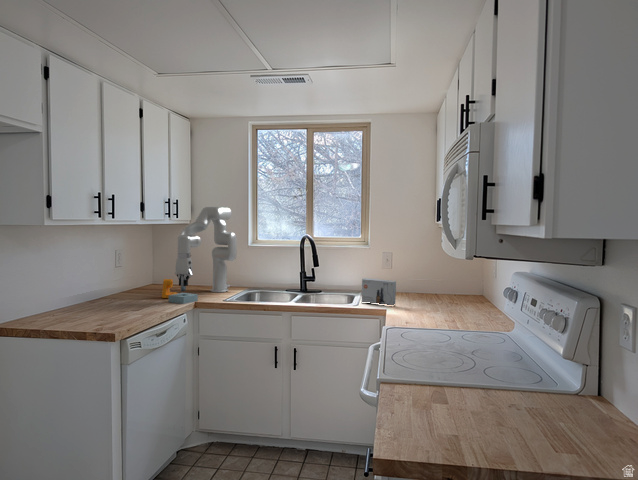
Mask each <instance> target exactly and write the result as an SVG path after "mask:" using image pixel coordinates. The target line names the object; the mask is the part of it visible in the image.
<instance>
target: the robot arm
mask: <svg viewBox="0 0 638 480" xmlns="http://www.w3.org/2000/svg"><path fill="white" fill-rule="evenodd" d="M231 217H232V209H231V208H229V207H227V206H226V207H219V206H205V207H203V208H202V210H200V213H199V214H198V216H197V217H196V219H195V220H194V222H192V223H191V224H189V225H187V226H186V227H185V228H183V230H182V231H181V232H180V234H179V235H178V237H177V253H176V254H177V255H176V256H177V257H176V261H175V272H174V275H175V276H176V277H177V279H178V286H179V287H181V274H183V275H184V281H183V286H186V287H188V286H189V279H190V278H191V277H192V276H193V260H192V258H191V257H192V254H191V248H198V247H200V246H201V244H202V239H201V237H200V236H199V235H195V234H197V233H200V232H203V231H206V229H207V228H208V227H209V225H210V223H211V222H212V223H213V239H214V240H213V241H214V243H215V244H216V245H219V246H216V247H213V249H212V250H211V258H212V288H211V289H210V292H212V293H226V291H227V292H229V289H228V288H230V287H231V284H228V283H227V274H228V273H227V272H228V271H227V270H228V267H227V263H226V262H227V261H228V262H229V261H230V262H233V261H235V260H236V258H237V252H238V250H237V249H238V248H237V247H238V239H237V235H236V233H235V232H233V231H227V223H226V220H229V219H231ZM220 245H221V246H220ZM225 261H226V262H225Z"/></svg>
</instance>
